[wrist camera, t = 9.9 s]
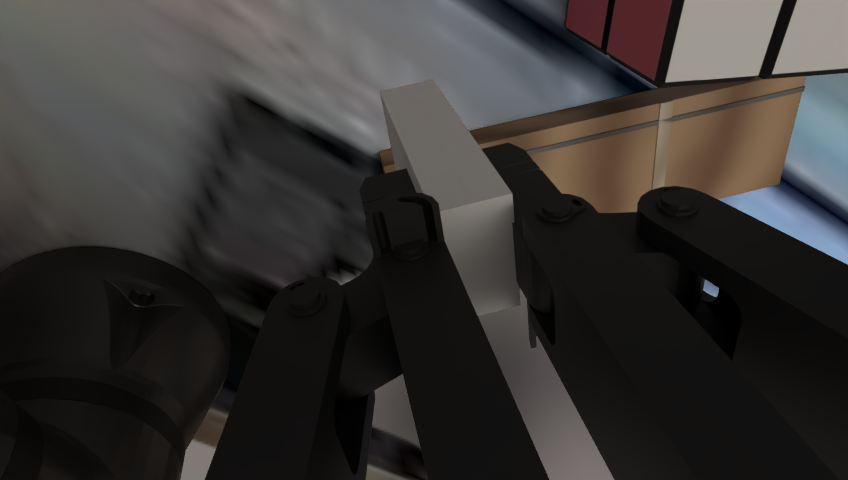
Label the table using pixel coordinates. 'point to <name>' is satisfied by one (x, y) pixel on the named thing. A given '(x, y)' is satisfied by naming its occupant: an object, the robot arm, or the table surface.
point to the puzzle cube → (716, 38)
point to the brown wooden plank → (659, 141)
